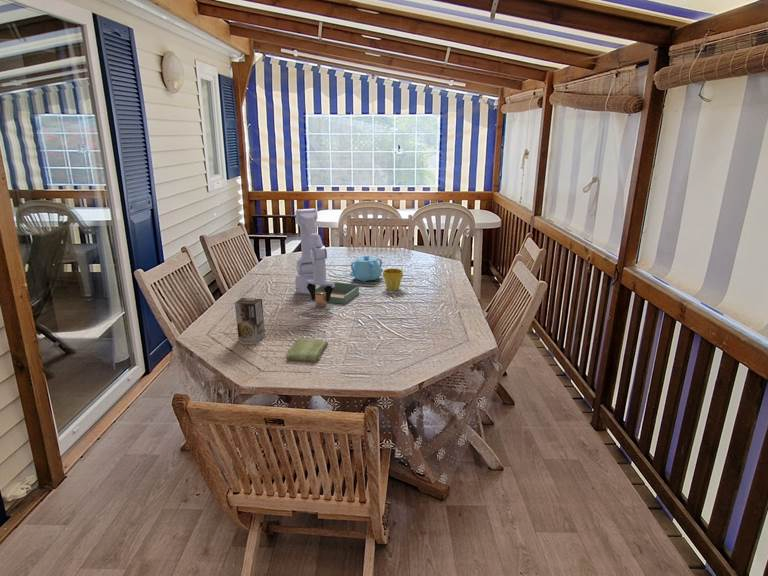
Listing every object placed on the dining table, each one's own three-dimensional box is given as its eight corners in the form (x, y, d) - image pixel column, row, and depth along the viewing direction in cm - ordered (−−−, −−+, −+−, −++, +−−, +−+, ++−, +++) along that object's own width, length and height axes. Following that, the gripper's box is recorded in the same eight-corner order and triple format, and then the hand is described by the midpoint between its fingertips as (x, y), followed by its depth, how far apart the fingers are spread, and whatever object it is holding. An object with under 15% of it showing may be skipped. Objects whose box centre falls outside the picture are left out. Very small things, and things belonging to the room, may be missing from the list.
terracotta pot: (313, 306, 240) (313, 294, 238) (319, 303, 244) (318, 291, 243) (323, 307, 238) (323, 295, 236) (328, 304, 243) (328, 292, 241)
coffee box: (265, 336, 206) (262, 298, 201) (258, 342, 200) (255, 303, 195) (245, 334, 208) (242, 297, 203) (237, 340, 202) (234, 302, 197)
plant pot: (400, 292, 261) (400, 274, 258) (381, 291, 263) (381, 273, 260) (404, 286, 271) (404, 268, 268) (385, 285, 273) (385, 267, 270)
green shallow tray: (309, 299, 250) (309, 290, 248) (325, 289, 265) (325, 280, 264) (344, 304, 244) (344, 294, 242) (358, 293, 259) (358, 284, 257)
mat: (304, 307, 239) (304, 307, 239) (314, 301, 248) (314, 301, 247) (327, 310, 235) (327, 310, 234) (336, 304, 243) (336, 303, 243)
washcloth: (329, 344, 199) (328, 336, 198) (318, 364, 182) (317, 356, 181) (296, 342, 201) (296, 335, 200) (283, 362, 184) (282, 354, 183)
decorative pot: (373, 284, 274) (373, 260, 270) (347, 281, 281) (346, 257, 277) (385, 277, 289) (385, 254, 284) (360, 273, 295) (360, 251, 291)
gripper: (301, 273, 235) (303, 300, 239) (329, 276, 230) (330, 304, 234) (309, 269, 241) (310, 296, 245) (336, 272, 236) (337, 299, 240)
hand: (320, 300), depth 240 cm, fingers open, 7 cm apart
